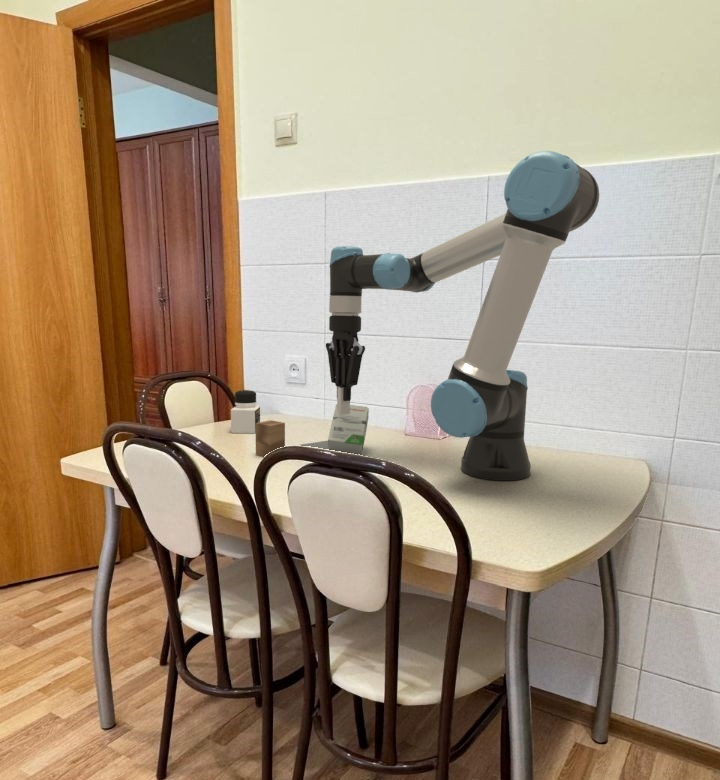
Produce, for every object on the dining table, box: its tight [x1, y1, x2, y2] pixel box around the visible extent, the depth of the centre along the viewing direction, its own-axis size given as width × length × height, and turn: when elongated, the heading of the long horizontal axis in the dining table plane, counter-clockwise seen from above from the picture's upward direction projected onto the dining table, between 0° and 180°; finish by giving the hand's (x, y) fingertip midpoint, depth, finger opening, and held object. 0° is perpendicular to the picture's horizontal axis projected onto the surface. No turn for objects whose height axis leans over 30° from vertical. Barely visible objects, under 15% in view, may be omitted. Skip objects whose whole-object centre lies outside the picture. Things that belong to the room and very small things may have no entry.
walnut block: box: [255, 419, 286, 458], centre depth 137 cm, size 5×5×8 cm
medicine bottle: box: [230, 389, 261, 435], centre depth 164 cm, size 7×7×12 cm
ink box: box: [327, 404, 370, 456], centre depth 140 cm, size 9×5×12 cm
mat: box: [300, 440, 328, 449], centre depth 143 cm, size 12×18×1 cm
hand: (343, 413), depth 135 cm, fingers closed
